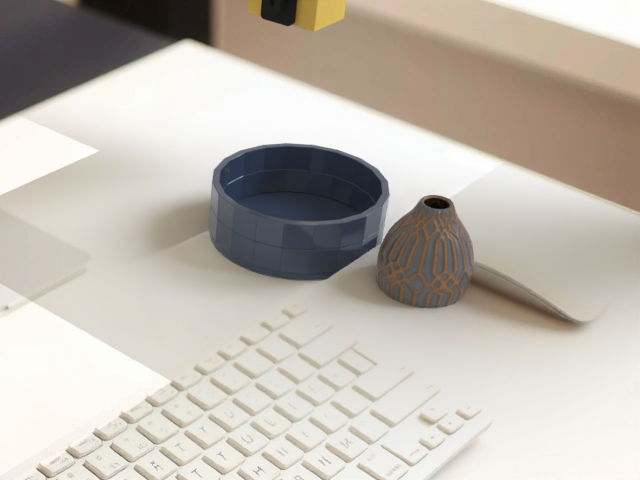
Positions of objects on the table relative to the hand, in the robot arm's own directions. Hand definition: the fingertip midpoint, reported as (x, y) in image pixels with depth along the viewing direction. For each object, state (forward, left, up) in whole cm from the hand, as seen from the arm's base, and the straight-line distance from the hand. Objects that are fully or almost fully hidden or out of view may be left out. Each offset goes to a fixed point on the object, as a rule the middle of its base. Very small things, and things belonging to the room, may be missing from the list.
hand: (295, 12), depth 92 cm
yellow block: (0, 0, 0) cm, 0 cm away
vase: (+11, +22, -15) cm, 29 cm away
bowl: (+9, +9, -15) cm, 19 cm away
